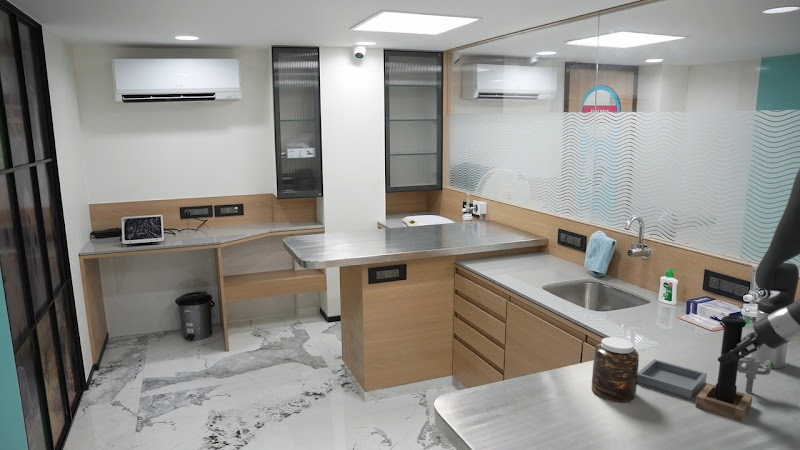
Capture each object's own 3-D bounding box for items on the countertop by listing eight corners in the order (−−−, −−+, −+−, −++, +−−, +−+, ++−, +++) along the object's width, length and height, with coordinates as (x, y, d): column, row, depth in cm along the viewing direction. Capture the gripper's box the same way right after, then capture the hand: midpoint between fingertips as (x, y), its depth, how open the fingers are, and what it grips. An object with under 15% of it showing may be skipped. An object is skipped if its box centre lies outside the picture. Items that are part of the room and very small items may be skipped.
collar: (706, 393, 159) (707, 383, 159) (751, 406, 152) (752, 395, 151) (695, 406, 151) (696, 396, 151) (742, 421, 144) (743, 410, 143)
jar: (636, 388, 162) (640, 339, 159) (634, 406, 151) (639, 354, 149) (593, 380, 166) (597, 332, 164) (589, 397, 156) (592, 346, 153)
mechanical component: (770, 396, 158) (775, 363, 156) (730, 392, 160) (734, 359, 158) (766, 391, 161) (770, 359, 159) (727, 388, 163) (731, 355, 161)
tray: (653, 368, 176) (654, 359, 175) (705, 383, 166) (706, 373, 165) (635, 383, 165) (636, 374, 164) (690, 400, 155) (691, 390, 154)
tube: (748, 323, 144) (743, 316, 149) (724, 320, 146) (720, 313, 151) (737, 413, 148) (733, 403, 153) (713, 409, 150) (710, 400, 155)
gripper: (774, 308, 147) (720, 338, 157) (763, 321, 137) (707, 352, 146) (796, 332, 144) (740, 361, 154) (786, 347, 134) (727, 378, 144)
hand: (724, 357), depth 150 cm, fingers open, 8 cm apart
